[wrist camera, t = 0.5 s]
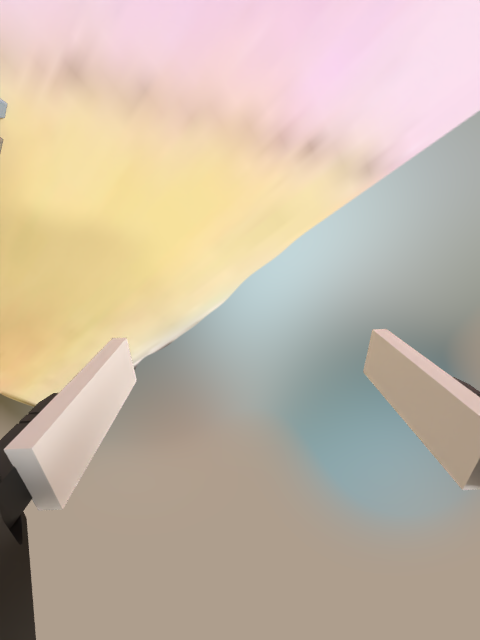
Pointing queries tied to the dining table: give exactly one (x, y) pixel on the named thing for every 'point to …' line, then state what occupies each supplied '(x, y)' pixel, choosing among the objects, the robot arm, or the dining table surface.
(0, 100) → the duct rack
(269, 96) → the dining table surface
